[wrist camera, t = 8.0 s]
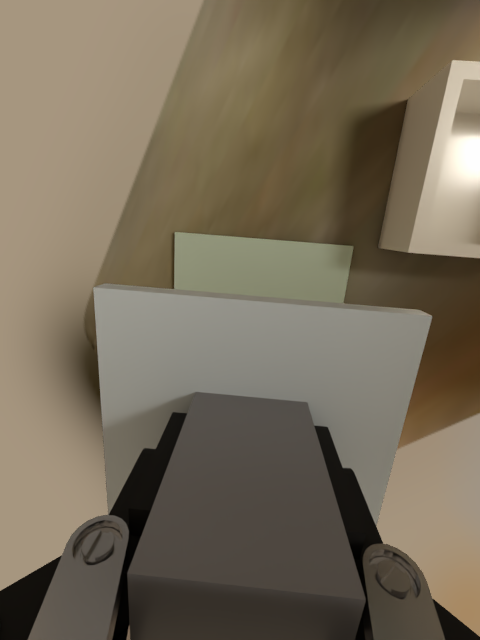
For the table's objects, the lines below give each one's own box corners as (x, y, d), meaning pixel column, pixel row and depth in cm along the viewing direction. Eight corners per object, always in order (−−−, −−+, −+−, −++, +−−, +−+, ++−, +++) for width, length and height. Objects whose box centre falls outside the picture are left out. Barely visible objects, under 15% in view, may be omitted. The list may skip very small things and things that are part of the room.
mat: (352, 245, 24) (353, 246, 23) (324, 401, 28) (325, 404, 27) (176, 231, 24) (174, 232, 24) (174, 387, 28) (173, 389, 28)
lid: (419, 309, 10) (692, 442, 4) (359, 546, 14) (454, 838, 7) (104, 283, 11) (-130, 365, 4) (117, 520, 14) (-5, 777, 7)
